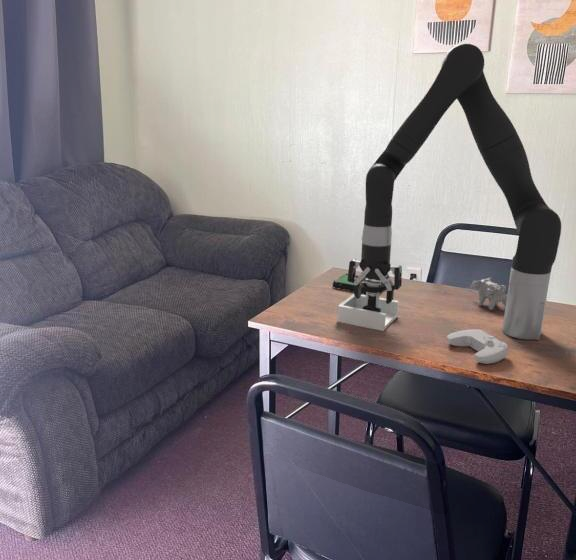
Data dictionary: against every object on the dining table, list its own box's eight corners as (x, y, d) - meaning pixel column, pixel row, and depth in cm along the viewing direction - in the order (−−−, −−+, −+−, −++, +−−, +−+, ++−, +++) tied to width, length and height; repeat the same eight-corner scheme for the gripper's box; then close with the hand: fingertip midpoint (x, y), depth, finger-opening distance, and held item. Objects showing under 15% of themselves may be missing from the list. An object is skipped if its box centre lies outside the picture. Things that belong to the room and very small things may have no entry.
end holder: (397, 316, 155) (398, 301, 154) (383, 331, 145) (384, 314, 143) (353, 308, 161) (354, 293, 159) (337, 321, 151) (337, 305, 149)
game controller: (442, 332, 137) (475, 319, 140) (443, 348, 139) (476, 335, 142) (481, 356, 124) (517, 342, 127) (481, 373, 126) (517, 358, 129)
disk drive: (387, 289, 180) (345, 280, 187) (388, 280, 179) (345, 272, 186) (375, 298, 172) (331, 288, 179) (376, 289, 171) (332, 280, 178)
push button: (353, 316, 151) (356, 281, 148) (361, 310, 156) (363, 276, 153) (377, 321, 148) (379, 285, 145) (384, 315, 153) (386, 280, 150)
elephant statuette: (499, 313, 159) (502, 288, 157) (459, 304, 166) (461, 279, 164) (510, 305, 166) (514, 280, 163) (471, 296, 173) (474, 272, 171)
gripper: (407, 242, 146) (402, 300, 151) (356, 235, 152) (353, 292, 157) (398, 248, 139) (394, 309, 144) (345, 241, 146) (343, 300, 151)
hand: (373, 300), depth 151 cm, fingers open, 8 cm apart
